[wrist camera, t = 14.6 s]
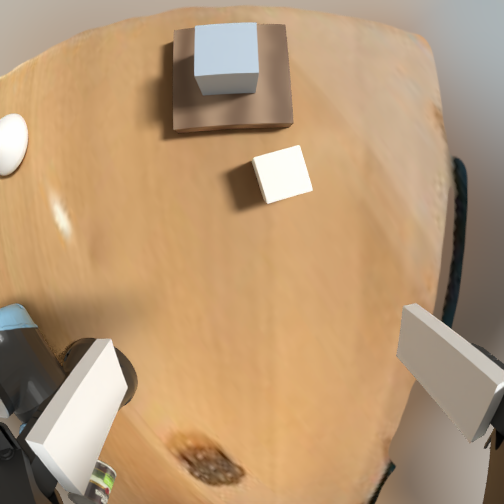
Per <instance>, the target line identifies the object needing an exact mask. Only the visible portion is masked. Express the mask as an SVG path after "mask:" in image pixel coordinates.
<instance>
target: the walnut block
mask: <svg viewBox="0 0 504 504" xmlns="http://www.w3.org/2000/svg"><path fill="white" fill-rule="evenodd" d="M257 43H258V62H259V76H258V81H257V87H256V93H236V94H218V95H204V96H203V94H202V92H201V90H200V88H199V86H198V83H197V81H196V79H195V77H194V54H195V28H189V29H181V30H174V45H173V130H175V131H176V132H177V133H187V132H198V131H209V130H223V129H241V128H272V127H290V126H291V125H292V124H293V108H292V94H291V81H290V69H289V58H288V47H287V37H286V27H285V25H281V24H257Z"/></svg>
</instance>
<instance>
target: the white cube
mask: <svg viewBox="0 0 504 504" xmlns="http://www.w3.org/2000/svg"><path fill="white" fill-rule="evenodd" d="M252 164H253V167H254V171H255V174H256V177H257V180H258V183H259V187H260V190H261V193H262V196H263V200H264V201H265V202H266V203H267V204H268V203H272V202H275V201H278V200H282V199H285V198H289V197H292V196H295V195H299V194H302V193H306V192H309V191H313V189H312V185H311V182H310V178H309V175H308V172H307V168H306V165H305V161H304V158H303V155H302V152H301V148H300V145H298V146H294V147H290V148H286V149H283V150H279V151H275V152H272V153H268V154H265V155H261V156H258V157H254V158H253V159H252Z"/></svg>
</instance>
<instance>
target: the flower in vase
mask: <svg viewBox="0 0 504 504" xmlns="http://www.w3.org/2000/svg"><path fill="white" fill-rule="evenodd" d="M27 144H28V129H27V125H26V123H25V120H24V119H23V117H22V116H20V115H19V114H15V113H13V114H9V115H6V116H4V117H3V118H1V119H0V175H3V176H5V175H9V174H10V173H12V172H13V171H14V170H15V169H16V168H17V167H18V166H19V165H20V163H21V161H22V160H23V158H24V155H25V152H26V149H27Z"/></svg>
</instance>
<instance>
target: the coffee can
mask: <svg viewBox="0 0 504 504" xmlns="http://www.w3.org/2000/svg"><path fill="white" fill-rule="evenodd" d="M115 477H116V472H115V471H114V470H113V469H112V468H111V467H110V466H109V465H107V464H106V463H104V462H102V461H100V460H97V462H96V464H95V467H94V470H93V472H92V475H91V477H90V480H89V483H88V485H87V488H86V491H85V494H84V496H83V495H79V494H75V493H71V492H69V493H68V497H69V498H70V500H71V501H73V502H74V503H75V504H107V501H108V498H109V495H110V492H111V489H112V486H113V483H114V480H115Z"/></svg>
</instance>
